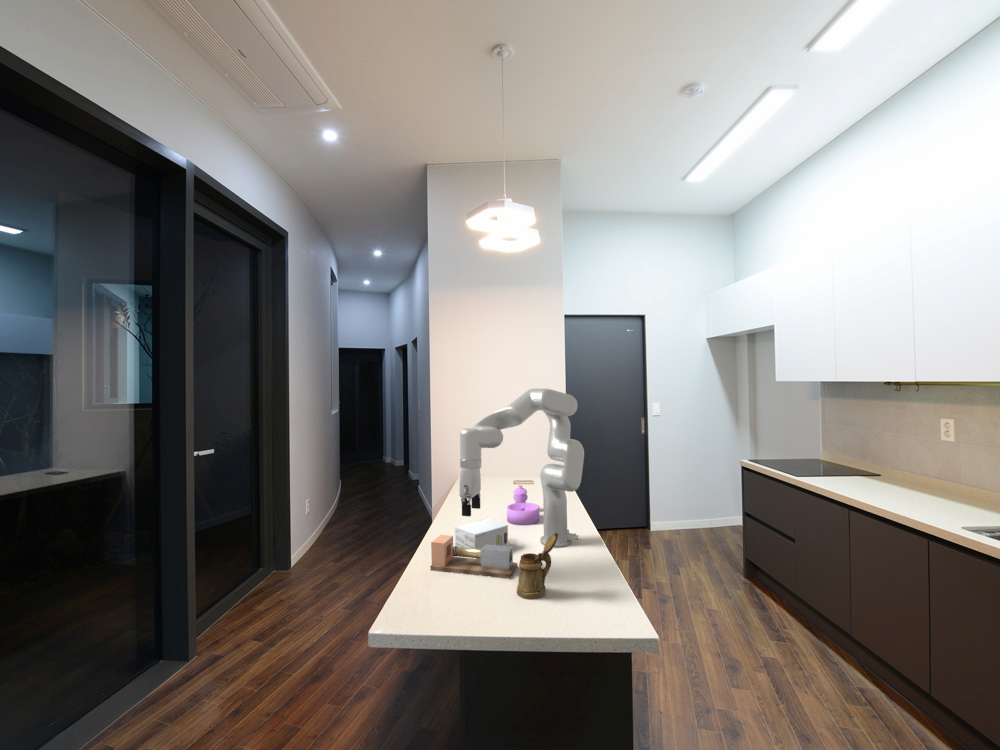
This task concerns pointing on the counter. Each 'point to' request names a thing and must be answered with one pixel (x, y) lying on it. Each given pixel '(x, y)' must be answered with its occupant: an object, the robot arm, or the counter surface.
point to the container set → (522, 509)
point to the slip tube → (468, 552)
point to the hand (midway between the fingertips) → (471, 512)
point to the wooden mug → (535, 571)
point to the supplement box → (481, 534)
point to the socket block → (442, 550)
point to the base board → (472, 568)
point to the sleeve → (496, 557)
